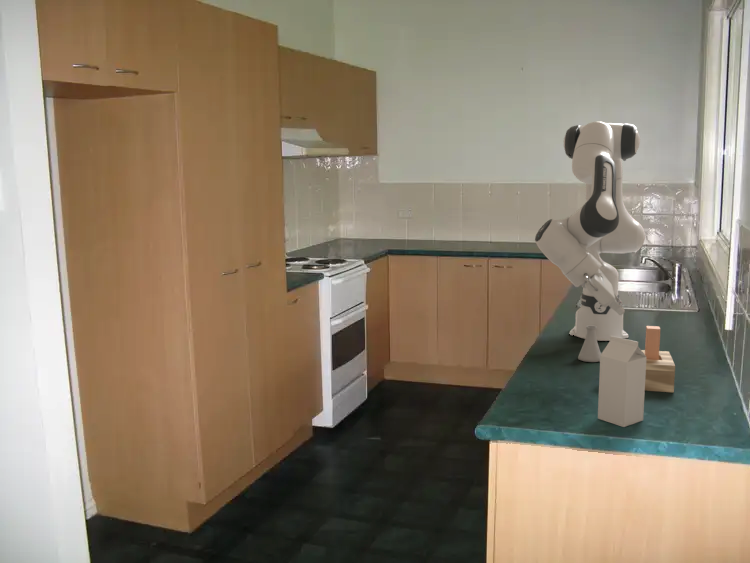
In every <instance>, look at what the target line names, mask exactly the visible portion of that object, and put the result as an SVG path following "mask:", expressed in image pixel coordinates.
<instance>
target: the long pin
mask: <svg viewBox="0 0 750 563" xmlns="http://www.w3.org/2000/svg"><path fill="white" fill-rule="evenodd" d="M660 343H661V327H660V326H659V325H658V326H656V325H646V326H645V343H644V344H645V346H644V350H645V356H646V359H650V360H659V351H660Z"/></svg>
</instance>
